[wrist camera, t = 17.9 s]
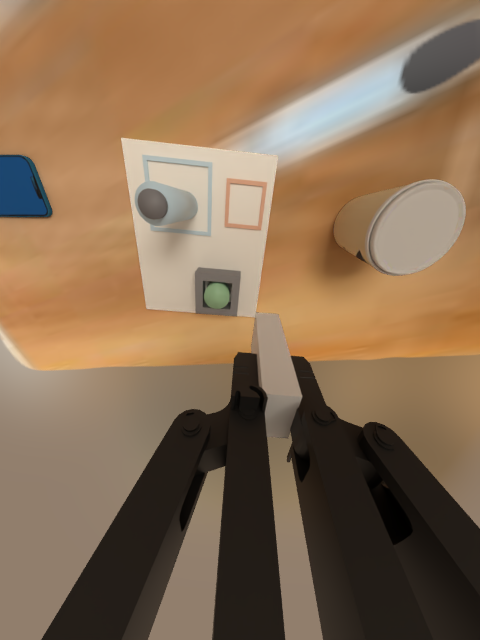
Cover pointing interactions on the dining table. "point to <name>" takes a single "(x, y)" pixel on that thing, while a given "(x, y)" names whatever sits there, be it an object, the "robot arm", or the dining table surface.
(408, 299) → the dining table surface
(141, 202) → the marker
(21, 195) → the smartphone
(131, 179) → the board
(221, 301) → the button
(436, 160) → the dining table surface
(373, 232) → the coffee cup
